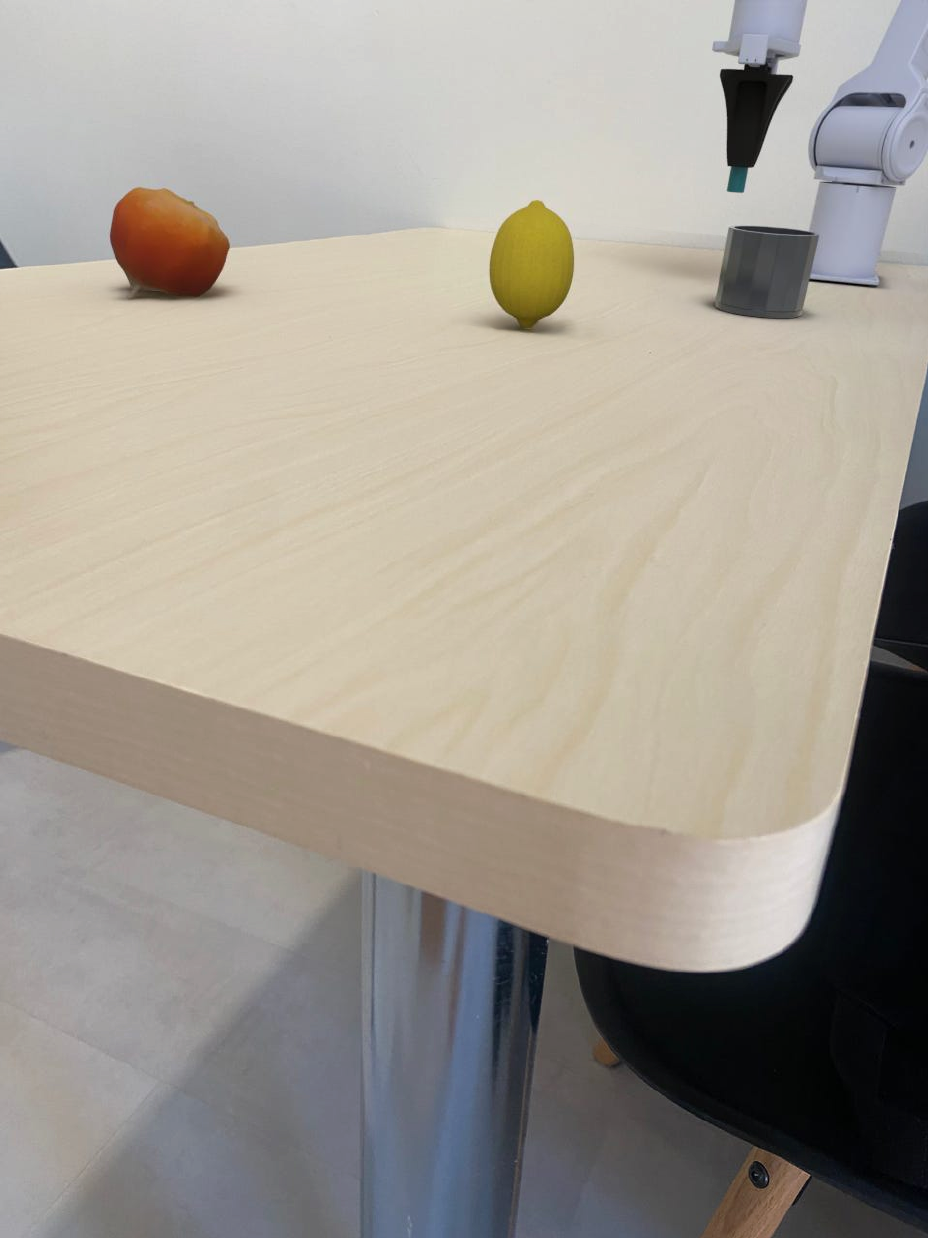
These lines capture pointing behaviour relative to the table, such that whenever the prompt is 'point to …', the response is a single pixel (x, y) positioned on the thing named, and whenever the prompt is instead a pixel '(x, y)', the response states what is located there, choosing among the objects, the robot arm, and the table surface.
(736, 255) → the tumbler
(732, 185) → the teal rectangular block
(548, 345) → the table surface
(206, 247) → the fruit
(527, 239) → the lemon
